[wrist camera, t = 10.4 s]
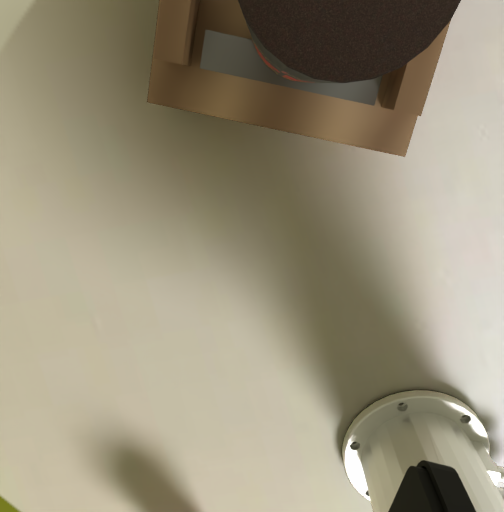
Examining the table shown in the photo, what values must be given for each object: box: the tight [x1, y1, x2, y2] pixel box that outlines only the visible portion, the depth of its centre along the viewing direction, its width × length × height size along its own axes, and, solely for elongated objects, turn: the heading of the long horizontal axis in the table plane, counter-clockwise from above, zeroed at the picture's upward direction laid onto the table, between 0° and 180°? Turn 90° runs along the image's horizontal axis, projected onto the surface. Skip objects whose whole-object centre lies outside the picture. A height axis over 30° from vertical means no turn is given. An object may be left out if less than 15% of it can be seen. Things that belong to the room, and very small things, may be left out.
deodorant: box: [238, 0, 461, 83], centre depth 19 cm, size 6×6×15 cm
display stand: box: [147, 0, 451, 157], centre depth 28 cm, size 16×12×8 cm
